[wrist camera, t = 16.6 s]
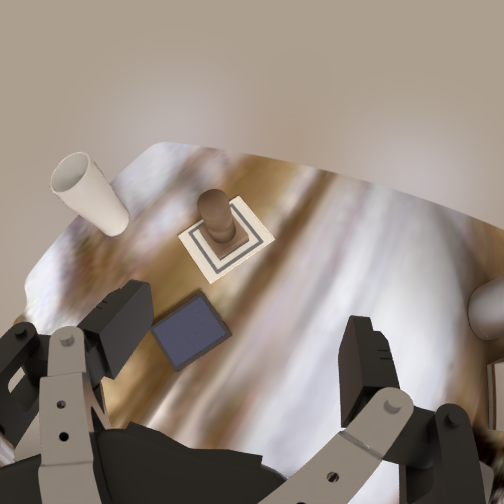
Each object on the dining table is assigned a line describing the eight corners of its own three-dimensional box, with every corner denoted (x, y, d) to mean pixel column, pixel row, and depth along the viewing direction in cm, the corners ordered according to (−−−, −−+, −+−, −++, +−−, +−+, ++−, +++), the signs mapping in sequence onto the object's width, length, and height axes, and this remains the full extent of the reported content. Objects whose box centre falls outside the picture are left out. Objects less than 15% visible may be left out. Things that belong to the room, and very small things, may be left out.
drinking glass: (107, 249, 44) (53, 204, 30) (94, 220, 46) (46, 172, 32) (140, 225, 45) (96, 171, 31) (125, 197, 47) (84, 142, 33)
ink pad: (203, 293, 40) (201, 291, 39) (232, 335, 38) (231, 334, 37) (151, 329, 39) (148, 328, 38) (177, 371, 37) (175, 371, 36)
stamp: (229, 216, 44) (219, 177, 35) (249, 241, 42) (243, 205, 33) (201, 234, 43) (183, 199, 34) (220, 260, 42) (205, 230, 32)
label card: (238, 196, 46) (238, 195, 45) (274, 239, 43) (274, 238, 42) (178, 236, 44) (177, 235, 43) (210, 284, 41) (209, 283, 40)
